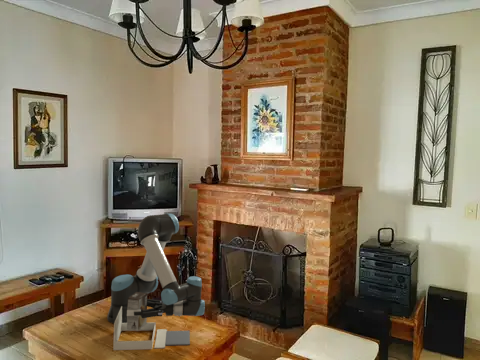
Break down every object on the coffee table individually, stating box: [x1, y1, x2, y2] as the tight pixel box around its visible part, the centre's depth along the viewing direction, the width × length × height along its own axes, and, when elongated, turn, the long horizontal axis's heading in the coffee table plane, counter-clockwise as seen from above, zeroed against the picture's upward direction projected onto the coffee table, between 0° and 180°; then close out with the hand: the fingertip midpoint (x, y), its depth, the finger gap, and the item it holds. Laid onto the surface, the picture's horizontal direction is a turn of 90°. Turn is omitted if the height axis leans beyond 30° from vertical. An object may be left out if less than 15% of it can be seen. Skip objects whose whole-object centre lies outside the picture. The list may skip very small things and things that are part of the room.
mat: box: [165, 330, 191, 347], centre depth 191 cm, size 14×12×1 cm
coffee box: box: [127, 292, 148, 332], centre depth 187 cm, size 9×6×16 cm
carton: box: [112, 306, 168, 351], centre depth 188 cm, size 20×24×13 cm
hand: (128, 308), depth 186 cm, fingers closed on coffee box, 10 cm apart
